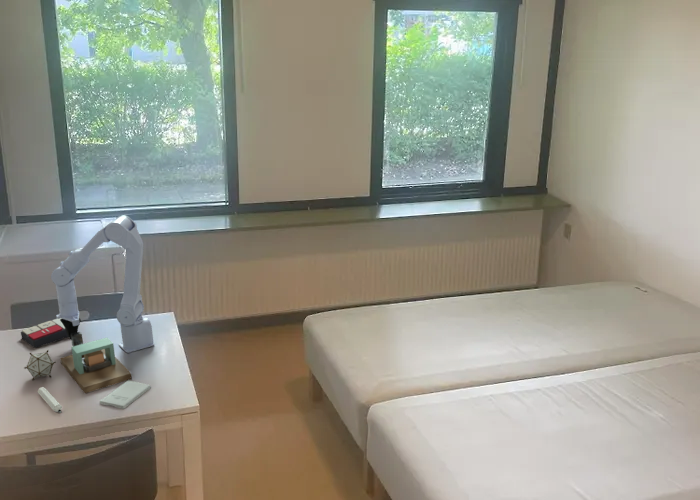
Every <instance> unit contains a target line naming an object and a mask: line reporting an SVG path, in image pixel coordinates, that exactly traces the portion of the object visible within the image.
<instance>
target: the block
mask: <svg viewBox="0 0 700 500" xmlns="http://www.w3.org/2000/svg"><path fill="white" fill-rule="evenodd" d="M84 358H85V363H86V365H87V366H91V365H95V364H98V363H102V362H104V355H103V352H102V351H101V350H99V351H95V352H92V353H88V354H85V355H84Z"/></svg>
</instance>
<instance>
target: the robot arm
mask: <svg viewBox="0 0 700 500" xmlns="http://www.w3.org/2000/svg"><path fill="white" fill-rule="evenodd" d="M137 227H138V225H137V223H136V222H135V221H134V220H133V219H132V218H131V217H129V216H128V215H125V214H124V215H123V214H122V215H118V216H117V217H115V219H114V220H112V221H110V222H109V223H107V224H106V225H105V226H104V227H102V228H101V229H100V230H98V231H97V232H96V233H95V235H93V236H92V238H90V240H89V241H88V242H87V243H86V244H85V245H84V246H83V247H82V248H80V249H79V248H77V249H74V250H71V251H70V252H68V256H67V258H66V259H64V261H63V260H62V261H60V263H59V266H58V267H56V268H54V270H52V272H51V275H50V279H51V282H52V283H53V284H54V285H55V290H56V297H57V303H58V310H59V313H58V314H56V315H55V317H56V319H60V318H62V319H60V321H61V322H62V324H63V325H64V327H65V329H66V332H67V334H68V339H69V340H70V341H71V334H73V333H77V332H79V331H78V330H79V326H80V325H81V322H82V321H81V318H80V311H79V305H78V299H77V291H76V285H75V278H76V276H77V275H78V274H79V273H80V272H81V271H82V270H83V269H84V268H85V267H86V266H87V265H88V264H89V263H90V262H91V259H90V258H91V257H90V256H91V255H92V254H93V253H94V252H95V251H96V250H97V249H98V248H99V247H101V245H102V244H103V243H110V242H112V243H115V244H117V245H118V246H120V247H122V248H123V249H124V251H125V252H126V253H125V264H124V265H125V266H124V279H123V280H124V281H123V291H122V292H123V294H122V295H123V296H122V299H121V301H120V304H119V305H120V306H119V310H118V311H117V312H116V319H117V321H118V323H119V324H120V332H121V341H122V342H120V343H118V346H119V347H120V348H121V349H122V350H124V352H125V353H127V354H129V353H133V352H136V351H139V350H142V349H147V348H149V347H154V346H155V343H154V335H153V326H152V323H151V321H150V319H149V318H148V317H143V316H142V313H143V312H144V310H145V305H144V303H143V296H142V295H141V294H140V293H141V284H142V283H141V282H142V270H143V257H144V241H143V239H142V237H141V234H140V233H139V230H138V228H137Z"/></svg>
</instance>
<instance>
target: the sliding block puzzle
mask: <svg viewBox="0 0 700 500" xmlns="http://www.w3.org/2000/svg"><path fill="white" fill-rule="evenodd" d="M60 319H62V318H60ZM60 319H58V318H55V319H52V320H47V321H45V322H42V323H39V324H37V325H33V326H30V327H28V328H24V329H23V330H22V331H21V332H20V336H21V338H22V340H23V341H24V342H25V343H27V344H28V345H30V347H33V348H34V349H36V348H40V347H42V346H46V345H49V344H52V343H55V342H57V341H61V340H64V339H69V337H68V334H67V332H66V329H65V327H64V325H63V324H62V322H61V321H60Z"/></svg>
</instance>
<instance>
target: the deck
mask: <svg viewBox="0 0 700 500" xmlns="http://www.w3.org/2000/svg"><path fill="white" fill-rule="evenodd" d="M101 351H102V352H103V354H104V355H105V349H103V350H101ZM81 356H82V358H84V355H81ZM105 356H106V355H105ZM115 361H116V364H114V365H111V366H108V367H104V368H101V369H97V370H94V371H91V372H86V371H85V370H84V369H83V370H84V373H83V374H79V373H78V371H77V370H76V369H75V368H74V361H73V355H72V354H70V355H66V356H63V357H60V364H61V365H62V367H63V368H64V369H65V370H66V372H67V373H68V374H69V376H70V377H71V378H72V379H73V381H74V382H75V383H76V385H77V386H78V387H79V388H80V390H81V391H82V392H83V393H84V394H88V393H91V392H94V391H97V390H100V389H104V388H107V387H110V386H113V385H117V384H120V383H125V382H126V381H131V380H132V379H133V377H132V372H131V371H130V370H129V369H128V368H127V367H126V366H125V365H124V364H123V363H122V361H120V360H119V359H118V358H117V357H116V356H115Z"/></svg>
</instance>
